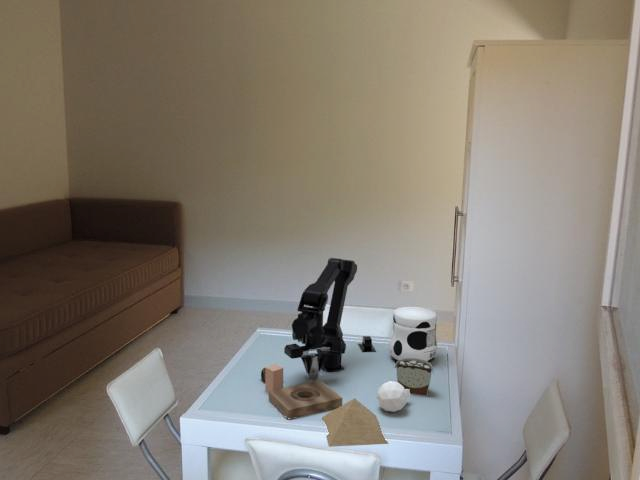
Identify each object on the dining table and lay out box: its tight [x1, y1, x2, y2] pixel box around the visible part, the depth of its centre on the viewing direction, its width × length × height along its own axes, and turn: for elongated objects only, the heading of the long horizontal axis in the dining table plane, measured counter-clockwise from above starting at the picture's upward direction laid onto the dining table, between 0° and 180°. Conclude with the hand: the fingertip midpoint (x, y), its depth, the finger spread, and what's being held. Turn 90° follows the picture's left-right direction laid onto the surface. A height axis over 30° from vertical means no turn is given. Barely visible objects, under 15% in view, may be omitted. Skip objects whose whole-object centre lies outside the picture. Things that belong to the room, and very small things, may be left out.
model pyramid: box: [321, 397, 389, 448], centre depth 162 cm, size 17×17×10 cm
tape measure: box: [260, 367, 265, 382], centre depth 194 cm, size 7×7×4 cm
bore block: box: [268, 380, 343, 419], centre depth 177 cm, size 18×14×3 cm
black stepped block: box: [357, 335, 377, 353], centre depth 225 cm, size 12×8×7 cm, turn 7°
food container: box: [394, 358, 434, 398], centre depth 188 cm, size 12×6×10 cm, turn 71°
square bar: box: [264, 364, 284, 394], centre depth 185 cm, size 4×4×8 cm
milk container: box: [389, 306, 438, 364], centre depth 213 cm, size 17×17×18 cm
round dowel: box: [307, 352, 320, 382], centre depth 191 cm, size 4×4×8 cm
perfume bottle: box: [376, 380, 411, 413], centre depth 175 cm, size 9×9×12 cm
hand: (313, 372), depth 191 cm, fingers closed on round dowel, 4 cm apart
